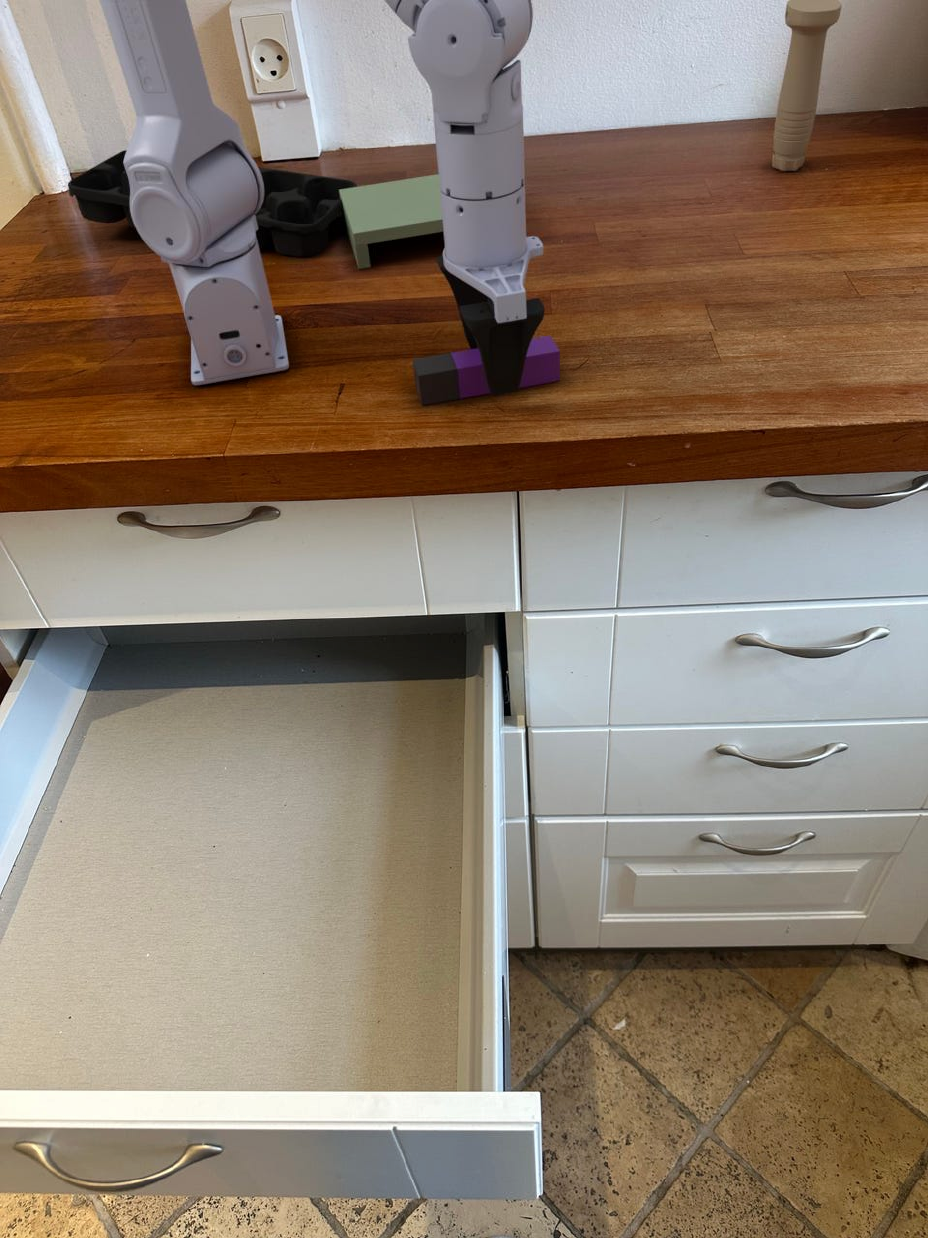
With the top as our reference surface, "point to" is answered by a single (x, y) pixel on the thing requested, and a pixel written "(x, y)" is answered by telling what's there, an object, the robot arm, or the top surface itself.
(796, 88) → the handle
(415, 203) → the shelf
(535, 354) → the marker
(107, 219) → the egg carton
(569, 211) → the top surface
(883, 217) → the top surface
